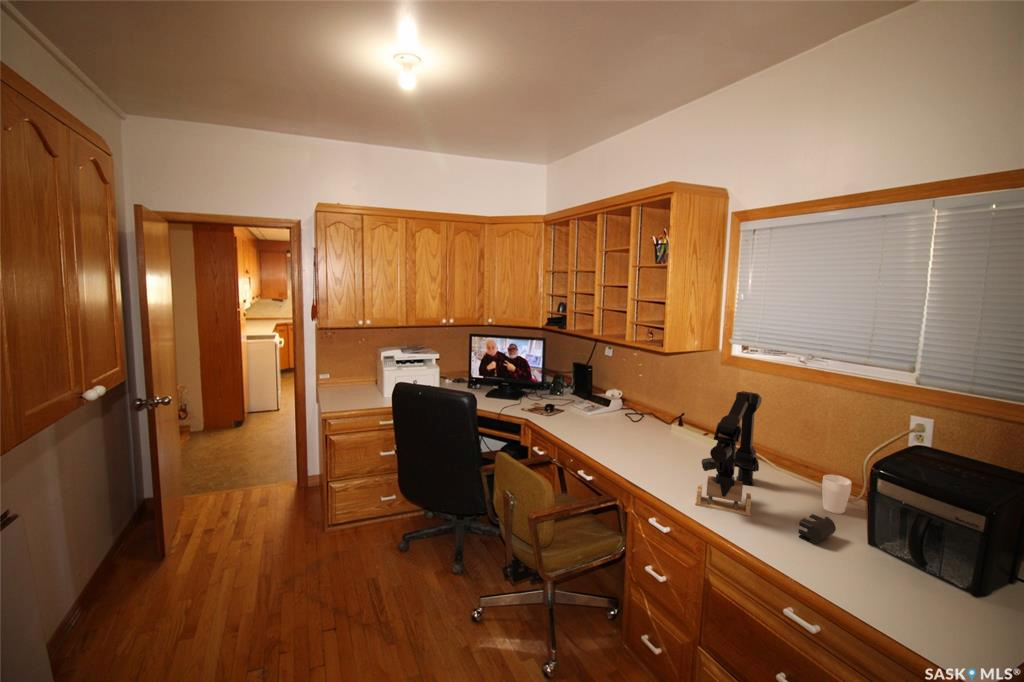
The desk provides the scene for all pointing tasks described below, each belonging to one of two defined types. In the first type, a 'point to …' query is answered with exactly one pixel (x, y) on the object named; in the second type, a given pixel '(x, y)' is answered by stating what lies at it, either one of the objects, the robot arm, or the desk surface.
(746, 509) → the peg frame
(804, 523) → the end cap
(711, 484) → the brown rectangular block
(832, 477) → the cup
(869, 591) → the desk surface
